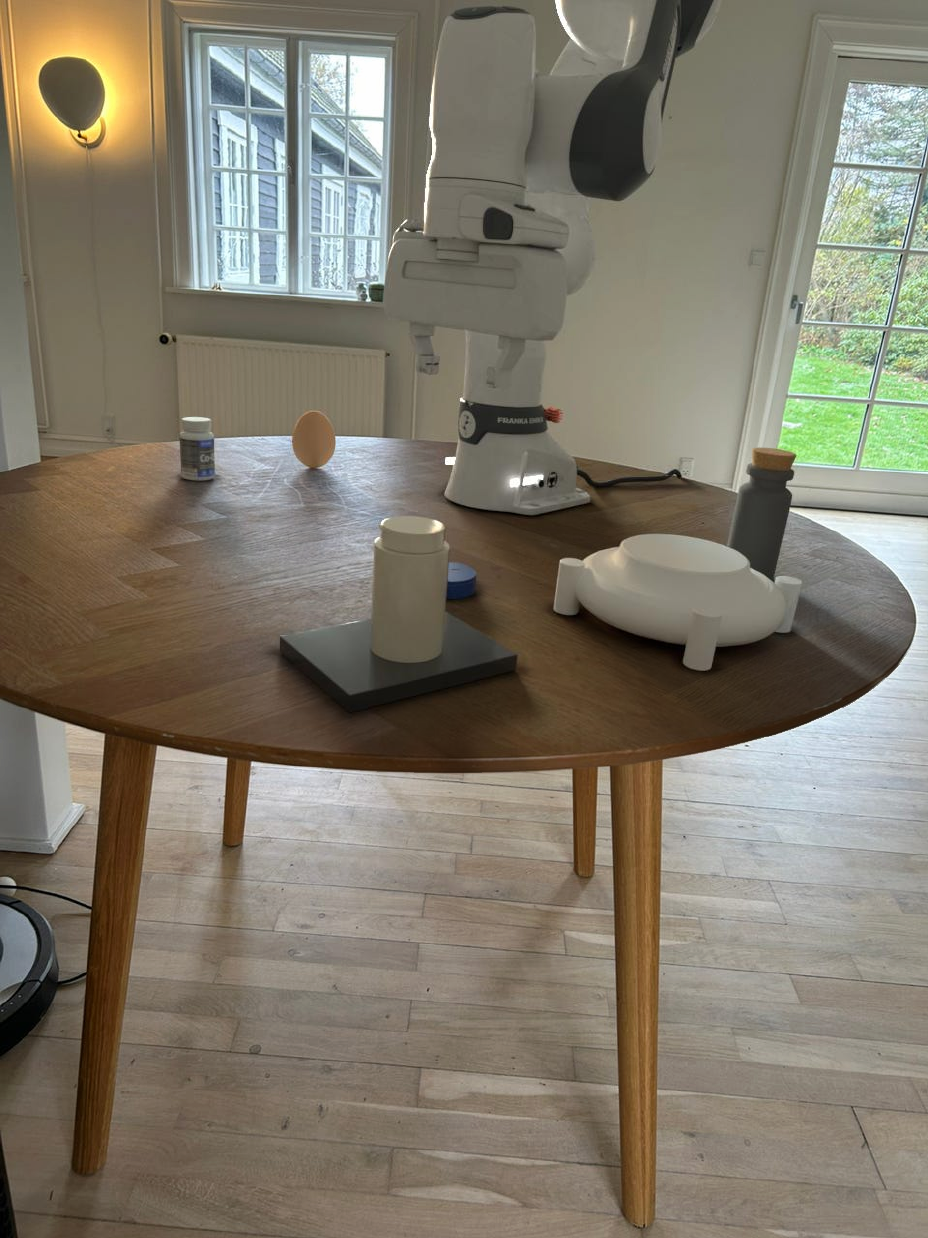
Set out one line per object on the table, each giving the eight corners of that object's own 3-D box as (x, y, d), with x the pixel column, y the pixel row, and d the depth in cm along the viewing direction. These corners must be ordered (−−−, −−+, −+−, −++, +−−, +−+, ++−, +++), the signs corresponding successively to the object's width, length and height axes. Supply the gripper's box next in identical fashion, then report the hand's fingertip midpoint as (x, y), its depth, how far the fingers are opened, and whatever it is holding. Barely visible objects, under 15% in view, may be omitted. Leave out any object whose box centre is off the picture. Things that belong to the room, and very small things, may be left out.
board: (436, 620, 81) (437, 605, 80) (516, 670, 72) (518, 654, 71) (279, 651, 71) (279, 635, 71) (349, 713, 63) (349, 695, 62)
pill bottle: (205, 482, 121) (203, 423, 118) (175, 478, 122) (172, 419, 119) (220, 475, 126) (219, 418, 122) (191, 472, 126) (189, 414, 123)
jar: (411, 628, 75) (418, 510, 71) (457, 652, 71) (467, 529, 67) (355, 642, 71) (359, 519, 67) (400, 669, 67) (407, 540, 63)
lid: (421, 600, 85) (422, 582, 85) (407, 578, 91) (408, 561, 90) (482, 598, 87) (484, 580, 86) (465, 577, 93) (466, 560, 92)
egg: (311, 474, 131) (312, 415, 128) (282, 465, 135) (282, 408, 131) (343, 469, 136) (345, 412, 133) (315, 461, 140) (315, 405, 136)
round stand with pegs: (835, 681, 75) (856, 606, 72) (564, 659, 75) (574, 583, 72) (754, 588, 97) (768, 528, 94) (545, 570, 97) (552, 509, 94)
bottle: (746, 589, 97) (775, 457, 91) (710, 572, 101) (736, 446, 96) (783, 584, 99) (813, 456, 94) (746, 568, 104) (773, 445, 98)
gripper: (370, 214, 80) (365, 366, 85) (538, 220, 68) (520, 398, 73) (419, 221, 85) (411, 365, 90) (585, 227, 72) (565, 395, 77)
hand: (461, 380), depth 81 cm, fingers open, 8 cm apart
